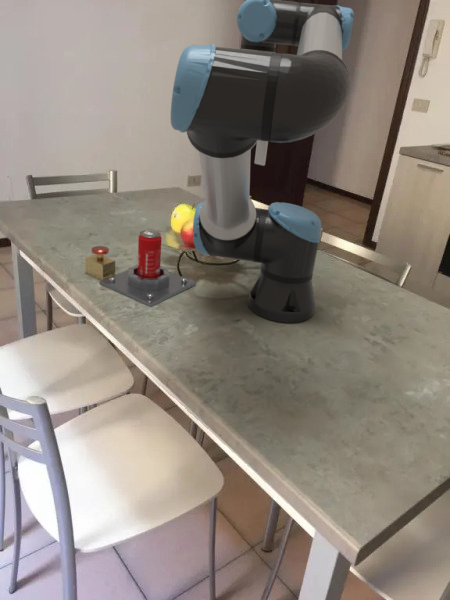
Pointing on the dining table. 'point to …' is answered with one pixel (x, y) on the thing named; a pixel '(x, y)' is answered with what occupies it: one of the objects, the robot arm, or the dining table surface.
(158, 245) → the beverage can
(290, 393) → the dining table surface
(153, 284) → the flange socket
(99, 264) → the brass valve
